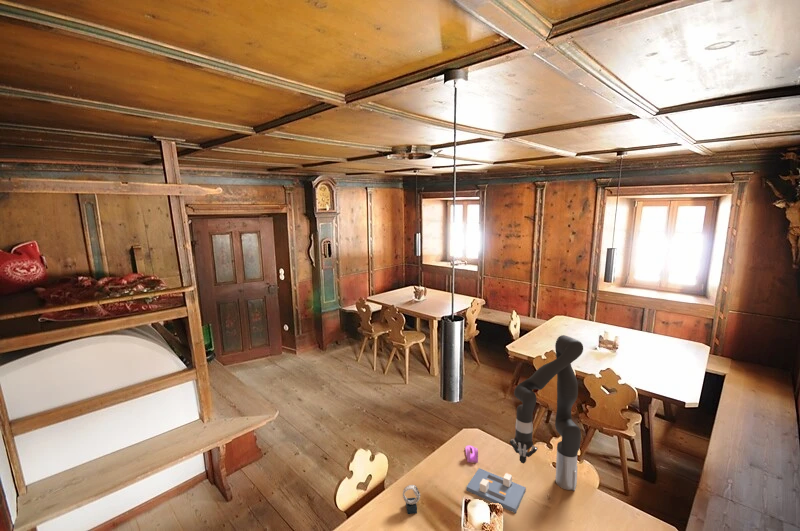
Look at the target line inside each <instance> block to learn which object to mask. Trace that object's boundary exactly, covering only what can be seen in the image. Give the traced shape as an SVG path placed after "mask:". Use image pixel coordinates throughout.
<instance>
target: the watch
mask: <svg viewBox="0 0 800 531" xmlns="http://www.w3.org/2000/svg"><path fill="white" fill-rule="evenodd" d="M410 490H412V491H413V494H414V495H415V497H410V498H409V497H407V496H406V495H405V494H406V492H408V491H410ZM402 498H403V501H404V502H405V508H406V513H407V515H413V514H418V505H417V504H418V502H419V500H420V499H421V492H420V490H419V489H418V486H416V484H415V485H414V484H409V485H407V486H405V487H404V488H403V491H402Z"/></svg>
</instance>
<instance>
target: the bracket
mask: <svg viewBox="0 0 800 531" xmlns="http://www.w3.org/2000/svg"><path fill="white" fill-rule="evenodd" d="M464 449H465V450H464V451H465V456H466V460H467V463H479V448H478V447H475V446H474V445H470V444H468V445H466V446H465V448H464ZM471 452H472V453H471Z"/></svg>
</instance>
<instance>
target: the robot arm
mask: <svg viewBox="0 0 800 531" xmlns="http://www.w3.org/2000/svg"><path fill="white" fill-rule="evenodd" d="M555 341H556V342H555V345H554V346H555V359H554V360H551V361H550V362H548V363H544V364H543V365H541V366H540V367H539V368H537V369H536V371H535V372H534V373H533V374H532V375H530V377H529V378H526V379H525V380H523V381H521V382H520V383H519V384H518V385H516V387H515V388H514V391H513V392H514V393H513V394H514V396H515V397H516V399H517V400H519V401H520V402H521V403H522V404H519V405H518V406H517V407H516V418H515V435H514V438H510V441H509V443H510V445H511V447H512V449H513V450H514V452H515V453H516V454H518V455H519V461H520V463H521V464H526V462H527V457H528V458H530V457H531V456H533V455H534V454H535V453H536V452H537V450H538V446H535V445H534V442H533V428H534V427H533V416H534V415H533V412H534V410H535V407H536V404H537V401H538V400H537V394H536V393H535V391H534V390H538V391H541V390H543V389H544V388H545V387H546V385H548V384H549V383H550V381H552V379H553V378H554V377H556V380H557V381H556V413H555V423H554V427H555V430H556V432H557V433H558V434H559V436H560V437H561V440H560V441H558V443H557V444H556V461H555V484H557V486H558V487H560V488H561V489H563V490H567V491H574V492H575V491H576V487H577V484H578V483H577V482H578V453H579V451H580V449H581V448H580V447H581V440H582V438H581V437H582V432H581V429H580V427H579V426H578V425H577V423H575V422H574V420H573V418H572V416H573V415H572V408H573V406H574V404H575V402H576V401H577V399H578V395H579V383H578V379H577V376H576V375H575V372H574V369H573V367H572V364H573V363H574V362H575V361H576V360H577V359H578V358H579V357H580V356H581V355H582V354H583V352H584V346H583V343H582V342H581V341H580V340H578V339H576V338H573V337H570V336H568V335H564V334H563V335H562V334H561V335H559V336H558V337H557V339H556V340H555ZM529 449H530V450H529Z"/></svg>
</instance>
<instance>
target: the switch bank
mask: <svg viewBox="0 0 800 531" xmlns="http://www.w3.org/2000/svg"><path fill="white" fill-rule="evenodd" d="M482 479H486V480H488V481H489V489H488V490H487V492H486V493H484V492H482V491H480V482H481V481H482ZM465 490H466V492H469V493H471V494H473V495H475V496H477V497H480V498H482V499H483V500H485V501H488V502H491V503H492V502H493V503H492V504H494V503H499V504H501V505H502V506H503V507H502V509H506V510H508V511H510V512H512V513H514V514H517V511H518V509H519V507H520V504H521V503H522V500H523V498H524V496H525V494H526V490H527V488H526V486H523V485H521V484H519V483H516V482H514V481H512V483H511V485H510V487H507V486H505V485H503V477H502V476H499V475H497V474H495V473H492V472H490V471H487V470H485V469H483V468H481V467H479V468H478V469H477V470H476V472H475V473H474V475H473V476H472V477H471V479H470V480H469V482H468V484H467V485H466V487H465Z"/></svg>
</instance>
